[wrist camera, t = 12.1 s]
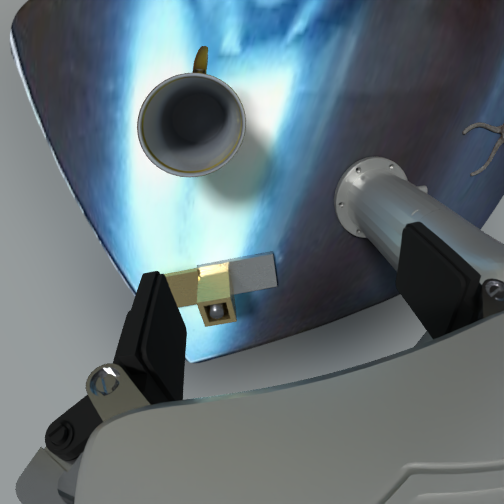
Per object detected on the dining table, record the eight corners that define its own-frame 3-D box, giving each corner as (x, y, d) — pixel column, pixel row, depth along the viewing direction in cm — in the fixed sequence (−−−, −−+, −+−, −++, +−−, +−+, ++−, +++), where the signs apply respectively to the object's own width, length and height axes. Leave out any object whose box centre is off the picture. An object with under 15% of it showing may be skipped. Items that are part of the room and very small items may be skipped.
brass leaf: (226, 262, 42) (228, 292, 36) (234, 294, 46) (237, 325, 40) (153, 276, 42) (144, 306, 36) (165, 306, 45) (160, 337, 39)
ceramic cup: (232, 160, 36) (236, 182, 27) (154, 153, 34) (133, 173, 26) (249, 62, 30) (260, 49, 21) (167, 54, 28) (148, 40, 19)
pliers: (458, 137, 36) (510, 89, 30) (455, 136, 36) (506, 88, 31) (473, 181, 40) (521, 130, 35) (470, 179, 41) (518, 129, 35)
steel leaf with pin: (271, 251, 43) (282, 283, 36) (276, 283, 46) (286, 317, 39) (196, 265, 43) (193, 299, 36) (206, 296, 46) (205, 331, 39)
